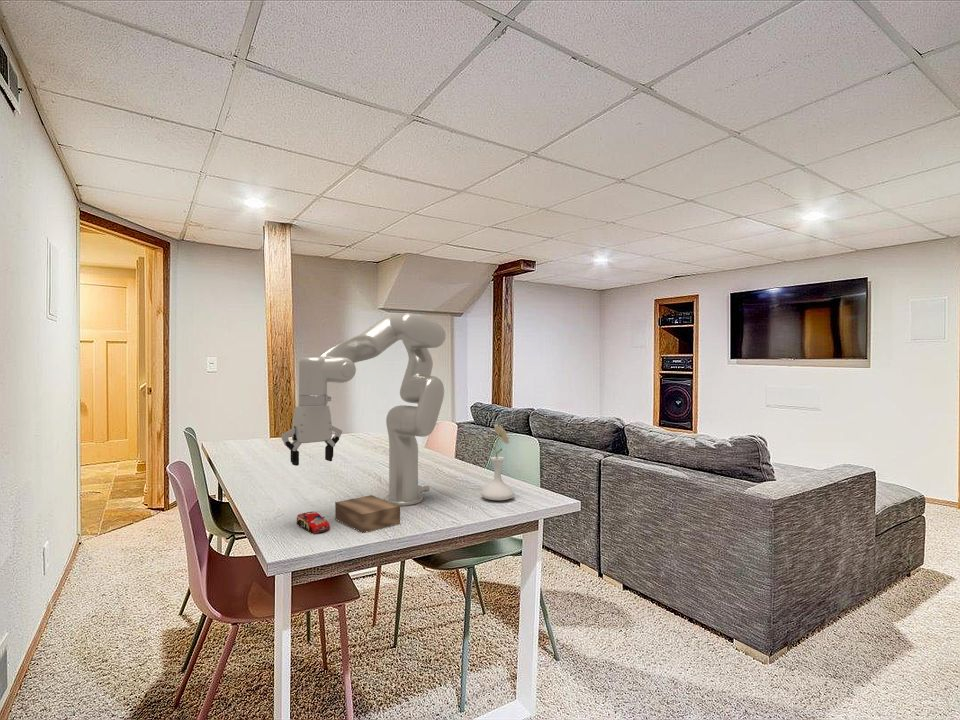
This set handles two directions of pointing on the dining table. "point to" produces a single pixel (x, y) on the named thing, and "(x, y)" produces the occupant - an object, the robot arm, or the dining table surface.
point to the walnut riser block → (367, 513)
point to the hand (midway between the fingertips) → (312, 462)
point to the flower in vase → (498, 474)
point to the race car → (312, 522)
